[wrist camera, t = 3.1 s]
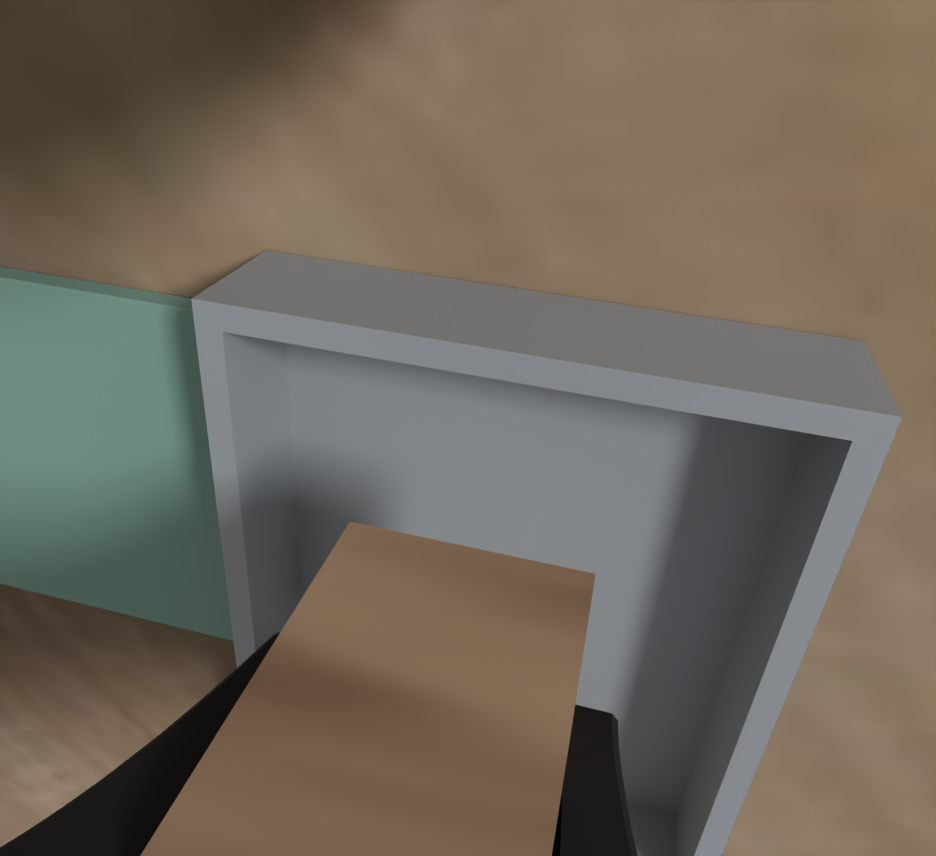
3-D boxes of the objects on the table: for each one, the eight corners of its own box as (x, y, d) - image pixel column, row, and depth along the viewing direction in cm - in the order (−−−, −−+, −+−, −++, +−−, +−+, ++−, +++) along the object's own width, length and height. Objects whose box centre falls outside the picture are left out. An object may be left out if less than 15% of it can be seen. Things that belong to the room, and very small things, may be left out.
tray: (692, 816, 24) (692, 923, 21) (297, 714, 26) (252, 798, 23) (865, 340, 16) (902, 416, 13) (266, 250, 18) (191, 298, 15)
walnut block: (561, 743, 14) (487, 1189, 9) (351, 690, 15) (169, 1074, 9) (595, 573, 12) (524, 1027, 7) (349, 521, 13) (114, 896, 7)
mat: (263, 632, 24) (254, 646, 24) (-37, 559, 26) (-51, 570, 26) (231, 304, 19) (219, 313, 18) (-148, 241, 21) (-169, 248, 20)
